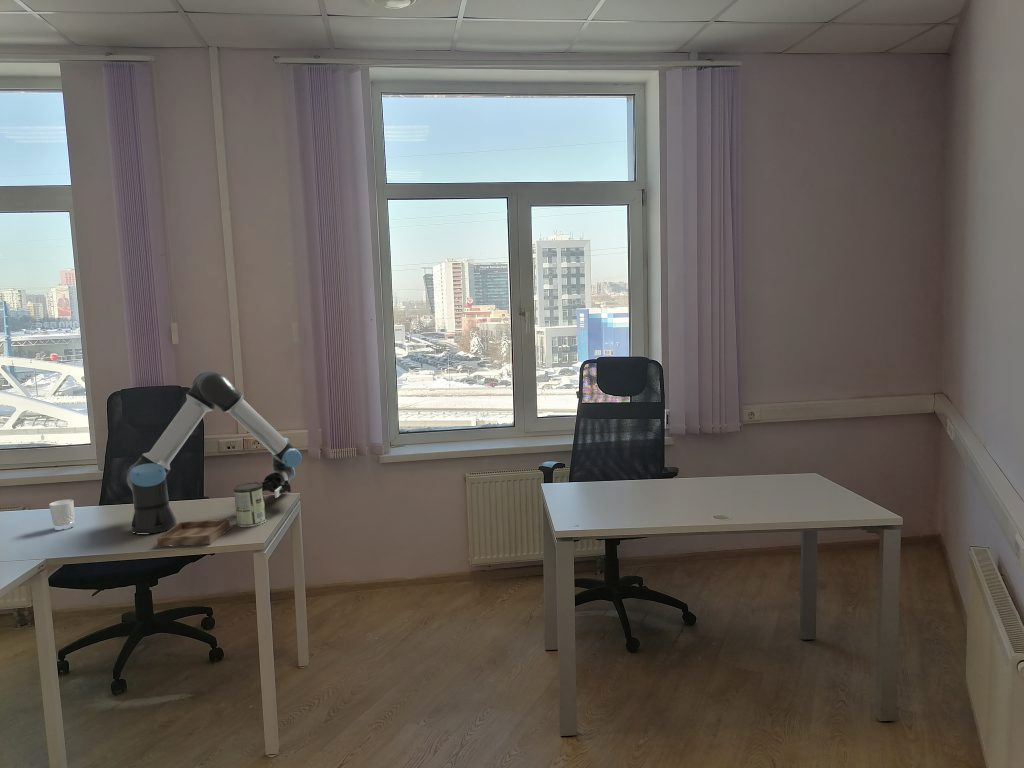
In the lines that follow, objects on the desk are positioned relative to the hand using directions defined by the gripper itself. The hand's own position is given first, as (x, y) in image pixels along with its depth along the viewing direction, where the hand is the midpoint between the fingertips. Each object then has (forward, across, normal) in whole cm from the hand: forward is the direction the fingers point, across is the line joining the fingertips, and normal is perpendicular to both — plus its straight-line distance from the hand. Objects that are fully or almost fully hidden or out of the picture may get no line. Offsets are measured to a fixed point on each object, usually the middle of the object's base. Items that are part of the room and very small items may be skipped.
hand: (257, 495), depth 287 cm
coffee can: (+8, 0, -8) cm, 12 cm away
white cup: (+1, +74, -9) cm, 75 cm away
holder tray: (+22, +16, -8) cm, 28 cm away
